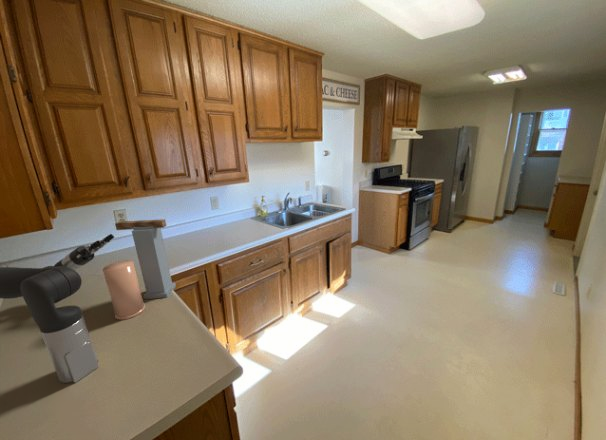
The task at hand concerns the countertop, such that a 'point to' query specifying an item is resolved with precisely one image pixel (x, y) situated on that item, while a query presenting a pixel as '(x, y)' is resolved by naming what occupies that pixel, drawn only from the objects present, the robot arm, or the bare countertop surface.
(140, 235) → the tall gray pillar
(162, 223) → the brown wooden bar
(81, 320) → the robot arm
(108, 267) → the crock
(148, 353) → the countertop surface
